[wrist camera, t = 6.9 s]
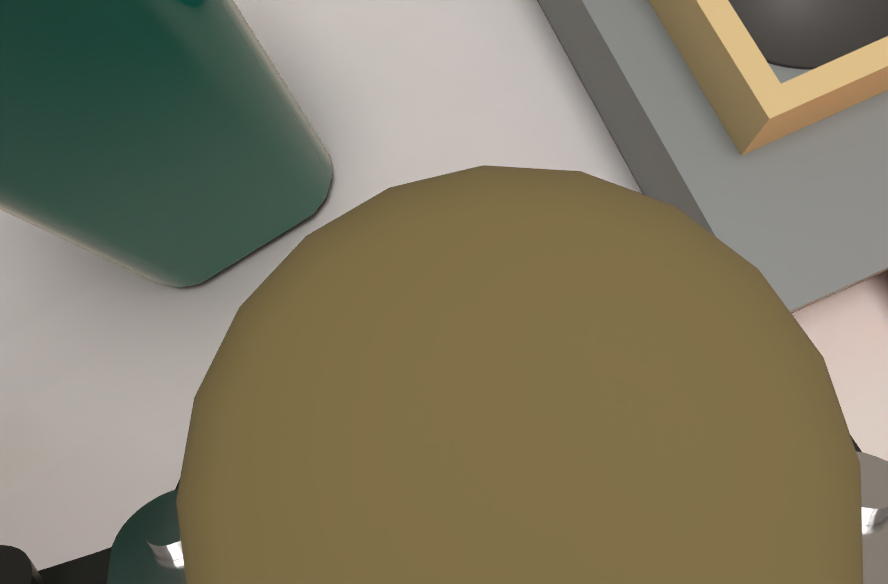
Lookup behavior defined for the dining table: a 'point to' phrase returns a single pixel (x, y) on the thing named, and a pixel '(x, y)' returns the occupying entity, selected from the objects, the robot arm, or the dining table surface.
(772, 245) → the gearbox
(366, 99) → the dining table surface
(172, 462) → the dining table surface
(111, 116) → the pitcher
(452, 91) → the dining table surface
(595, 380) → the cork
